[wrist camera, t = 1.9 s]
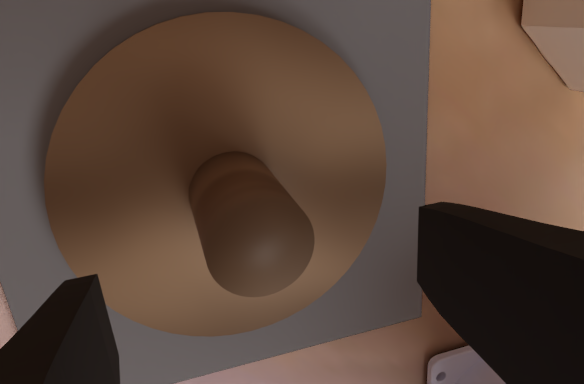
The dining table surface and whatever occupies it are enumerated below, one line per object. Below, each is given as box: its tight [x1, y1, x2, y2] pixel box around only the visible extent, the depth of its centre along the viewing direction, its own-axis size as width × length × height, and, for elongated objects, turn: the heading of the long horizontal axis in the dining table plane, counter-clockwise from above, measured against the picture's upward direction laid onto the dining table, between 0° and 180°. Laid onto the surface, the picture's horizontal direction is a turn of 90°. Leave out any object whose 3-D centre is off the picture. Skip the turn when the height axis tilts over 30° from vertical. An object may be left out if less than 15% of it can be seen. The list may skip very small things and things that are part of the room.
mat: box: [0, 0, 431, 384], centre depth 16 cm, size 15×15×1 cm
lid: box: [44, 12, 387, 337], centre depth 14 cm, size 11×11×5 cm
